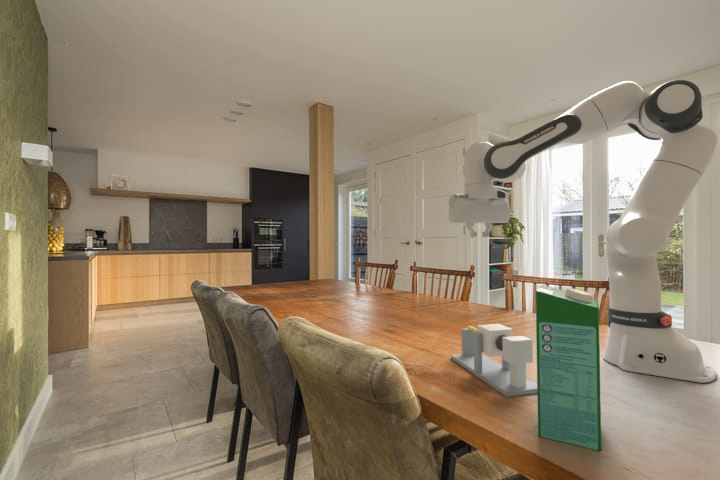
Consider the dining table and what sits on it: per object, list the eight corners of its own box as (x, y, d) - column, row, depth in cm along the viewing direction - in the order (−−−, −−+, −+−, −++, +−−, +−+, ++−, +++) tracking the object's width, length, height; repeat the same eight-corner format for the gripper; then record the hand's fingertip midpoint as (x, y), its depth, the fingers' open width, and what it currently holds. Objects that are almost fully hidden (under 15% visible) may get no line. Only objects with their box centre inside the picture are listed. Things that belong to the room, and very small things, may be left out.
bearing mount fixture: (451, 358, 103) (450, 317, 103) (479, 355, 105) (479, 315, 105) (506, 396, 78) (505, 343, 78) (543, 392, 80) (542, 339, 80)
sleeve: (477, 348, 92) (477, 325, 92) (498, 347, 94) (498, 323, 94) (490, 356, 86) (490, 330, 86) (513, 354, 88) (512, 329, 88)
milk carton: (601, 451, 58) (598, 293, 58) (537, 436, 62) (535, 289, 62) (599, 426, 65) (597, 286, 65) (543, 414, 70) (541, 284, 70)
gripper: (453, 192, 112) (454, 237, 112) (512, 193, 117) (513, 236, 117) (444, 195, 118) (445, 237, 118) (501, 195, 123) (501, 237, 123)
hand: (479, 237), depth 117 cm, fingers open, 3 cm apart
